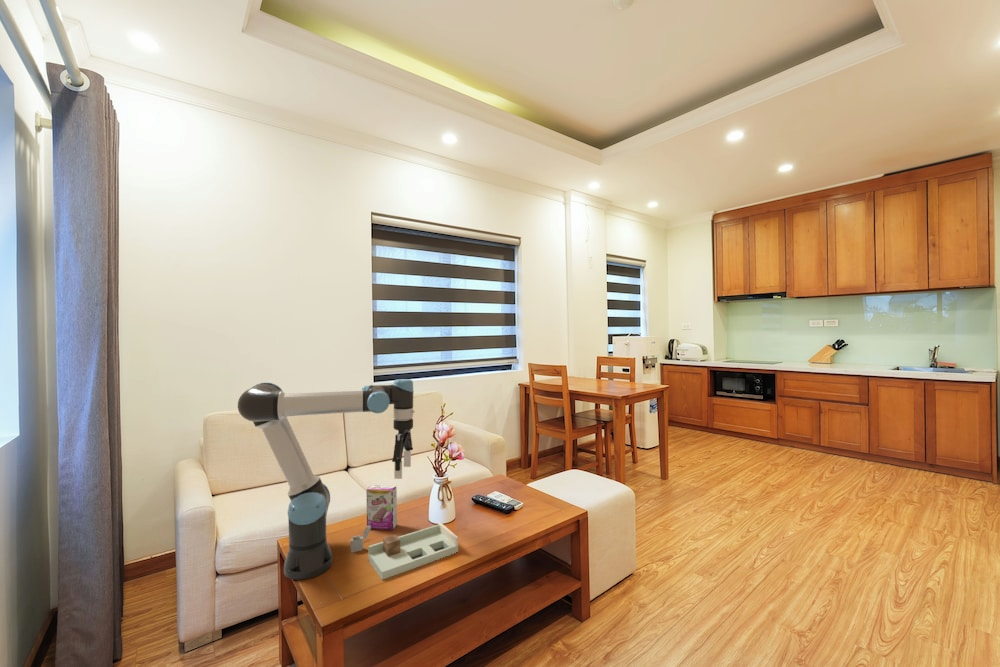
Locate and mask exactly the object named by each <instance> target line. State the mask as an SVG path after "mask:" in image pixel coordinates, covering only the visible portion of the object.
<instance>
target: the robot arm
mask: <svg viewBox="0 0 1000 667" xmlns="http://www.w3.org/2000/svg"><path fill="white" fill-rule="evenodd" d="M390 405H393V429H394V430H395V431H398V432H397V434H395V436H394V437H395V438H394V439H395V441H394V448H393V449H394V450H393V457H392V459H391V462H392V463H394V470H393V471H394V472H393V473H394V474H393V475H394V477H393V478H394V479H398V480H399V479H401V480H402V479H403V467H404V468H406V467H407V468H410V467H411V466H412V465H411V464H412V462H411V460H412V459H411V458H412V451H413V450H414V448H413V441H412V432H411V430H412V429H413V428H414V419H413V418H414V413H415V410H414V381H413V380H412V379H408V378H399V379H394V381H393V384H387V385H385V384H384V385H383V384H381V385H379V384H378V385H376V384H375V385H373V384H370V385H363V386H362V388H361V390H349V391H347V390H346V391H345V390H344V391H322V392H321V391H319V392H297V393H295V392H294V393H292V392H291V393H286V392H284V391H283V389H282V388H281V387H279V385H277V384H276V383H273V382H261V383H257V384H255V385H253V386H252V387H250V388H249V389H246V390H245V391H244V392H243V393H242V394H241V395H240V397H239V398H238V400H237V410H238V412H239V415H240V416H241V417H242V418H244V419H245V420H247V421H249V422H250V421H251V422H253V424H254V426H255V428H258V429H261V430H262V432H263V434H264V436H265V438H266V441H267V442H268V444H269V446H270V449H271V451H272V453H273V455H274V457H275V459H276V461H277V464H278V466H279V468H280V469H281V471H282V473H283V476H284V478H285V481H286V482H287V484H288V487H289V489H288V491H287V495H288V498H289V500H290V502H289V504H288V509H287V516H288V551H287V555H286V558H285V559H284V560H285V561H284V564H283V574H284V577H285V578H288V579H290V580H295V581H296V580H298V581H299V580H307V579H311V578H315V577H317V576H320V575H321V574H323V573H325V572H327V571H328V570H329V569H330V568H331V567H332V565H333V553H332V551H331V547H330V546H329V543H328V540H327V515H328V511H329V510H328V509H329V506H330V503H331V493H330V490H329V488H328V487H327V485H326V484H324V483H323V481H322V479H321V477H320V475H315V474H314V473H313V470H312V469H311V466H310V464H309V462H308V460H307V458H306V456H305V454H304V452H303V449H302V447H301V445H300V442H299V441H298V439H297V437H296V434H295V433H294V431H293V427H292V426H291V424H290V421H289V419H288V417H295V416H296V417H298V416H312V415H315V416H316V415H331V414H332V415H333V414H335V415H336V414H349V413H374V414H381V413H384V412H385V411H387V409H388V408H389V406H390ZM402 459H403V460H402Z"/></svg>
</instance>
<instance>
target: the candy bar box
mask: <svg viewBox="0 0 1000 667" xmlns="http://www.w3.org/2000/svg"><path fill="white" fill-rule="evenodd" d="M397 489H398V488H397V485H381V484H380V485H377V484H375V485H373V484H370V485H369V487H367V489H366V526H370V527H371V529H370V530H385V531H387V530H388V531H391V530H392V531H393V530H394V529H395V528H396V526H397V525H398V514H397V513H398V504H397V503H398V502H397V500H398V499H397V494H398V493H397Z"/></svg>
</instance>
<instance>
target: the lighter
mask: <svg viewBox="0 0 1000 667" xmlns="http://www.w3.org/2000/svg"><path fill="white" fill-rule="evenodd" d="M371 530H372V529H371V527H370V526H367V525H366V526H365V529H364V530H363V532H362V536H361V535H360V534H358V535H354V536H352V538H350V539H349V540H350V553H351V554H352V553H356V552H360V551H363V550H364V539H365V540H366V539H367V538H368V536H369V533H370V532H371Z"/></svg>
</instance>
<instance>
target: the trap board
mask: <svg viewBox="0 0 1000 667" xmlns="http://www.w3.org/2000/svg"><path fill="white" fill-rule="evenodd" d="M397 537H398V538H399V539H400V553H398V554H395V555H392V556H389V557H388V556H387V555H386V554H385V552H384V551H383V541H380V542H377V543H374V544H370V545H368V548H367V549H368V550H367V551H368V561H369V563H370V564H371V566H372V567H373V569H374V570H375V572H376V573H377V575H378V576H379V578H380V579H381V580H382V581H383V580H386V579H388V578H391V577H393V576H396V575H400V574H402V573H404V572H408V571H410V570H413V569H416V568H419V567H422V566H425V565H427V564H429V563H433V562H435V560H436V561H438V560H441V559H444V558H446V556H447V557H448V556H452V555H454V553H455V554H457V553H456V552H458V553H459V537H458V536H457V535H456V534H455V533H454V532H453V531H451V530H450V529H449V528H448V527H447V526H446V525H444V524H443V523H442V522H438V523H437V524H436V525H432V526H429V527H426V528H425V527H424V528H422V529H419V530H416V531H412V532H410V533H406V534H403V535H399V536H397ZM451 554H452V555H451ZM443 557H444V558H443ZM440 558H441V559H440Z"/></svg>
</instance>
